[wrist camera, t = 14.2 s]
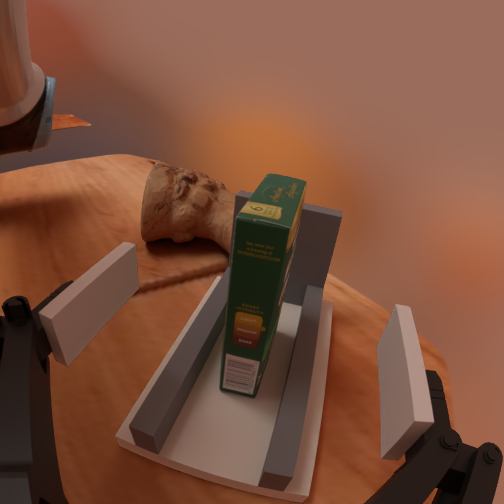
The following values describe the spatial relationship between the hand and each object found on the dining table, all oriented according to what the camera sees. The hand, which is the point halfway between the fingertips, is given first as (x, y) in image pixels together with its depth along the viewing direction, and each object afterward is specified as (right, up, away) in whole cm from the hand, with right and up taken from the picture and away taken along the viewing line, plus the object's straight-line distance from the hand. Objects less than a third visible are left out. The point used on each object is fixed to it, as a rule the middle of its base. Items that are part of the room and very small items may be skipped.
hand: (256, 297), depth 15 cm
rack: (-1, -7, +9) cm, 12 cm away
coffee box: (0, -6, +8) cm, 10 cm away
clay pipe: (-7, +2, +26) cm, 27 cm away
